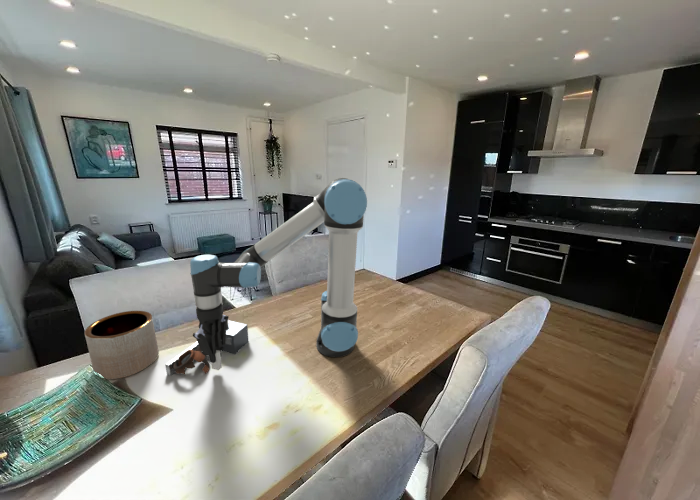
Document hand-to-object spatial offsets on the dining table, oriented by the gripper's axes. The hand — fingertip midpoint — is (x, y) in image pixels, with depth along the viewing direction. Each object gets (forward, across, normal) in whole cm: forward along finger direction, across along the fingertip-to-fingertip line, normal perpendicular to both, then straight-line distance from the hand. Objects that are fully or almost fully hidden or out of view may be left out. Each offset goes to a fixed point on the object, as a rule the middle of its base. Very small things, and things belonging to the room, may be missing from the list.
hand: (216, 367), depth 93 cm
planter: (+2, +6, -32) cm, 32 cm away
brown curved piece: (+2, +1, -8) cm, 9 cm away
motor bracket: (+2, -6, -8) cm, 10 cm away
